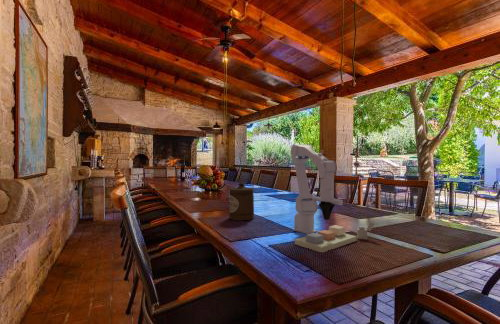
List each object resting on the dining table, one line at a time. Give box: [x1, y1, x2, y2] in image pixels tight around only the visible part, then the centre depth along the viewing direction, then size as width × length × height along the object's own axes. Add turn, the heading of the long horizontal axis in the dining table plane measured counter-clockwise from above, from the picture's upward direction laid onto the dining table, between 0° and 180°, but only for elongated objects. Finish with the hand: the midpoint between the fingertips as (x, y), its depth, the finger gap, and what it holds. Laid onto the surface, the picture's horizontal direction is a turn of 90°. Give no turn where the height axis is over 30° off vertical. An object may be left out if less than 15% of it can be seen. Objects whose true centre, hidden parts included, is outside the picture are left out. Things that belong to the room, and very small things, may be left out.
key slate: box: [305, 232, 323, 244], centre depth 116 cm, size 5×5×3 cm
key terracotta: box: [317, 229, 335, 241], centre depth 121 cm, size 5×5×3 cm
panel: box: [294, 229, 358, 254], centre depth 121 cm, size 14×25×2 cm, turn 129°
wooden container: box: [228, 181, 255, 221], centre depth 169 cm, size 15×15×22 cm
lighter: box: [356, 221, 375, 240], centre depth 127 cm, size 7×2×8 cm, turn 76°
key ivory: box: [328, 224, 346, 236], centre depth 126 cm, size 5×5×3 cm
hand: (326, 219), depth 122 cm, fingers closed
